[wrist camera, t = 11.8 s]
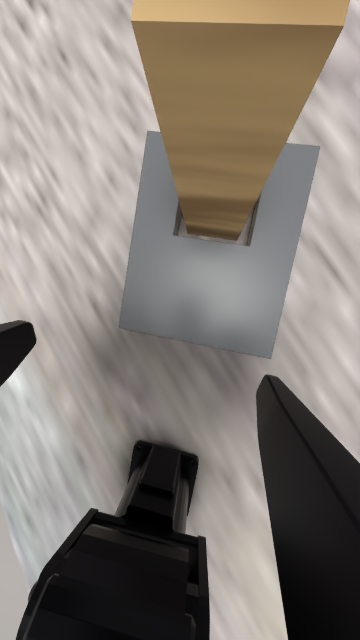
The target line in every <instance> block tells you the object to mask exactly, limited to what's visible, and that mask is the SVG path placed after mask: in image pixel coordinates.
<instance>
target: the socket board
mask: <svg viewBox="0 0 360 640" xmlns="http://www.w3.org/2000/svg"><path fill="white" fill-rule="evenodd" d="M319 150H320V146H313V145H302V144H290V143H285V145H284V147H283V149H282V151H281V153H280V155H279V157H278V159H277V161H276V163H275V165H274V167H273V169H272V171H271V173H270V175H269V177H268V179H267V181H266V183H265V185H264V187H263V189H262V191H261V193H260V195H259V197H258V199H257V201H256V203H255V208H254V213H253V218H252V223H251V227H250V232H249V237H248V242H247V246H243V245H236V244H229V243H222V242H215V241H208V240H201V239H194V238H188V237H181V236H178V230H179V224H180V218H181V212H182V210H181V206H180V202H179V199H178V195H177V191H176V187H175V184H174V180H173V176H172V172H171V169H170V165H169V161H168V157H167V154H166V150H165V146H164V142H163V139H162V135H161V132H155V131H147V137H146V144H145V151H144V158H143V165H142V171H141V178H140V185H139V192H138V199H137V206H136V212H135V219H134V226H133V233H132V240H131V247H130V253H129V260H128V267H127V274H126V281H125V288H124V294H123V301H122V308H121V315H120V322H119V328H121V329H126V330H131V331H136V332H141V333H146V334H150V335H155V336H160V337H165V338H170V339H175V340H180V341H185V342H190V343H195V344H200V345H205V346H210V347H214V348H219V349H224V350H229V351H234V352H239V353H244V354H249V355H254V356H259V357H264V358H269V359H271V356H272V351H273V347H274V343H275V339H276V334H277V330H278V326H279V321H280V317H281V313H282V309H283V304H284V300H285V296H286V291H287V287H288V283H289V279H290V274H291V270H292V266H293V261H294V257H295V253H296V249H297V244H298V240H299V236H300V232H301V227H302V223H303V219H304V214H305V210H306V206H307V202H308V197H309V193H310V189H311V184H312V180H313V176H314V172H315V167H316V163H317V159H318V154H319Z"/></svg>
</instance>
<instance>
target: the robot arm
mask: <svg viewBox="0 0 360 640" xmlns="http://www.w3.org/2000/svg"><path fill="white" fill-rule="evenodd" d="M35 344H36V336H35V332H34V328H33V325H32V324H31V323H30V322H27V321H22V320H17V321H13V322H8V323H4V324H0V386H1V385H2V384H3V383H4V382H5V381H6V380H7V379H8V378H9V377H10V376H11V374H12V373H13V372H14V371H15V370H16V368H17V367H18V366H19V365H20V363H21V362H22V361H23V360H24V358H25V357H26V356H27V355H28V353H29V352H30V351H31V350H32V348H33V347H34V346H35ZM256 405H257V430H258V442H259V449H260V456H261V463H262V469H263V476H264V483H265V489H266V496H267V503H268V509H269V516H270V522H271V529H272V536H273V542H274V549H275V556H276V562H277V569H278V575H279V582H280V589H281V595H282V602H283V609H284V615H285V622H286V628H287V635H288V640H360V463H359V462H358V461H357V460H356V459H355V458H354V457H353V456H352V455H351V454H350V452H349V451H348V450H347V449H346V448H345V447H344V446H343V445H342V444H341V443H340V442H339V441H338V440H337V439H336V438H335V437H334V436H333V435H332V434H331V432H330V431H329V430H328V429H327V428H326V427H325V426H324V425H323V424H322V423H321V422H320V421H319V420H318V419H317V418H316V417H315V416H314V415H313V414H312V412H311V411H310V410H309V409H308V408H307V407H306V406H305V405H304V404H303V403H302V402H301V401H300V400H299V399H298V398H297V397H296V396H295V395H294V394H293V392H292V391H291V390H290V389H289V388H288V387H287V386H286V385H285V384H284V383H283V382H282V381H281V380H280V379H279V378H278V377H276V376H272V375H265V376H264V377H263V379H262V381H261V383H260V385H259V387H258V389H257V393H256ZM138 446H140V447H141V448H139V447H138ZM192 460H193V461H195V462H192ZM198 464H199V459H198V457H197V456H195V455H192V454H188V453H185V452H181V451H177V450H173V449H169V448H166V447H162V446H158V445H154V444H150V443H147V442H143V441H137V442H136V443H135V445H134V449H133V455H132V461H131V467H130V473H129V479H128V485H127V488H126V490H125V492H124V495H123V497H122V499H121V502H120V504H119V506H118V508H117V511H116V513H115V515H110V514H106V513H102V512H98V510H97V509H94V508H91V509H90V510H89V511H88V513H87V514H86V515H85V516H84V518H83V519H82V520H81V521H80V522H79V524H78V525H77V526H76V527H75V529H74V530H73V531H72V532H71V534H70V535H69V536H68V537H67V539H66V540H65V541H64V543H63V544H62V545H61V546H60V548H59V549H58V550H57V551H56V553H55V554H54V555H53V557H52V558H51V559H50V560H49V562H48V563H47V564H46V565H45V567H44V568H43V570H42V572H41V574H40V576H39V579H38V581H37V582H36V583H35V584H34V586H33V587H32V589H31V591H30V594H29V597H28V605H27V608H26V610H25V612H24V615H23V618H22V621H21V624H20V626H19V629H18V633H17V637H16V640H209V633H210V610H209V587H208V570H207V553H206V537H202V536H198V537H195V536H191V535H187V534H185V530H186V519H187V516H188V513H189V508H190V503H191V498H192V493H193V489H194V484H195V479H196V474H197V469H198Z"/></svg>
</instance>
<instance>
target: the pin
mask: <svg viewBox="0 0 360 640" xmlns="http://www.w3.org/2000/svg"><path fill="white" fill-rule="evenodd" d="M349 2H350V0H134V1H133V9H132V17H131V22H132V26H133V30H134V34H135V37H136V41H137V45H138V49H139V52H140V56H141V60H142V64H143V67H144V71H145V75H146V79H147V82H148V86H149V90H150V94H151V97H152V101H153V105H154V109H155V112H156V116H157V120H158V124H159V127H160V131H161V135H162V139H163V142H164V146H165V150H166V154H167V157H168V161H169V165H170V169H171V172H172V176H173V180H174V184H175V187H176V191H177V195H178V199H179V202H180V206H181V210H182V214H183V217H184V221H185V225H186V229H187V232H188V234H196V235H203V236H210V237H217V238H224V239H231V240H237V239H238V237H239V235H240V233H241V231H242V229H243V227H244V225H245V223H246V221H247V219H248V217H249V215H250V213H251V211H252V209H253V207H254V205H255V203H256V201H257V199H258V197H259V195H260V193H261V191H262V189H263V187H264V185H265V183H266V181H267V179H268V177H269V175H270V173H271V171H272V169H273V167H274V165H275V163H276V161H277V159H278V157H279V155H280V153H281V151H282V149H283V147H284V145H285V143H286V141H287V139H288V137H289V135H290V133H291V131H292V129H293V127H294V125H295V123H296V121H297V119H298V117H299V115H300V113H301V111H302V109H303V107H304V105H305V103H306V101H307V99H308V97H309V95H310V93H311V91H312V89H313V87H314V85H315V83H316V81H317V79H318V77H319V75H320V73H321V71H322V69H323V67H324V65H325V63H326V61H327V59H328V57H329V55H330V53H331V51H332V49H333V47H334V45H335V43H336V41H337V39H338V37H339V35H340V33H341V31H342V29H343V27H344V24H345V19H346V15H347V11H348V6H349Z"/></svg>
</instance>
